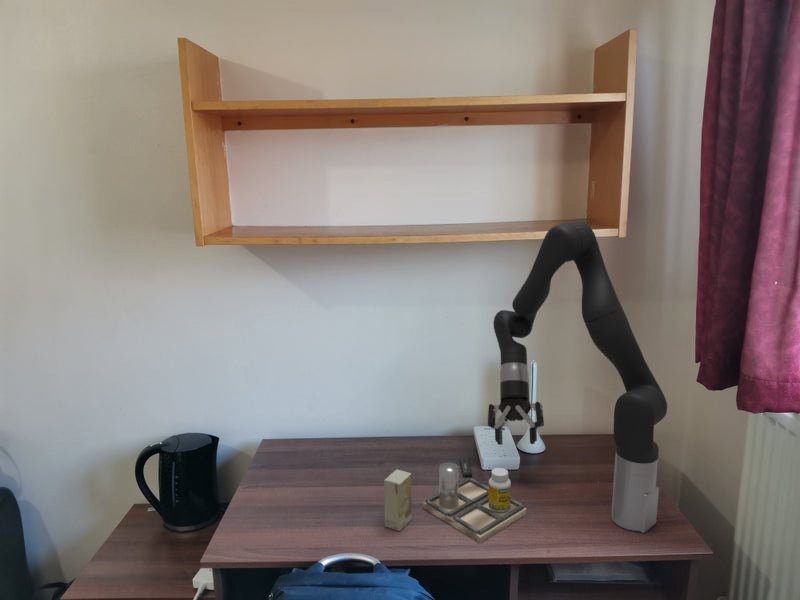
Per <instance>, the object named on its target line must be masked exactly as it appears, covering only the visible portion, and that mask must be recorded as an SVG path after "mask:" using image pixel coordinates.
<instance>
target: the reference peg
mask: <svg viewBox="0 0 800 600" xmlns="http://www.w3.org/2000/svg"><path fill="white" fill-rule="evenodd" d="M438 467H439V468H438V470H439V471H438V473H439V474H438V476H439V477H438V479H439V482H438V489H439V490H438V493H439V504H440V506H441V507H442V508H445V509H454V508H456V507H458V505H459V482H460V466H459V464H457V463H455V462H443V463H441V464H440V465H439V466H438Z"/></svg>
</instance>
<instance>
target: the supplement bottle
mask: <svg viewBox="0 0 800 600" xmlns="http://www.w3.org/2000/svg"><path fill="white" fill-rule="evenodd" d="M488 487H489V508H490V509H491V510H493V511H495V512H506V511H508V510H509V509H510V498H512V497H511V495H512V493H511V491H512V484H511V480H510V478H509V471H508V470H507V469H505V468H502V467H495V468H493V469H491V477H490V478H489V479H488Z"/></svg>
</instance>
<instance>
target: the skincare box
mask: <svg viewBox="0 0 800 600" xmlns="http://www.w3.org/2000/svg"><path fill="white" fill-rule="evenodd" d="M383 482H384V484H383V487H384V488H383V489H384V493H383V494H384V527H386V528H388V529H392V530H395V531H397V532H398V531H399V532H401V531H402V529H403V528H404V527H406V526H407V524H409V522H410V521H411V520H412V518H413V517H412V516H413V514H412V506H413V505H412V494H413V493H412V473H411V472H407V471H404V470H401V469H398V468H397V469H395V470H394V471H393V472H391V473H390V474H389V475H388V476H387V477H386V478H385V479H384V480H383Z"/></svg>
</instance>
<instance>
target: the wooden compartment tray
mask: <svg viewBox="0 0 800 600" xmlns="http://www.w3.org/2000/svg"><path fill="white" fill-rule="evenodd" d="M422 509H424V510H425V511H427V512H429V513H430V514H432V515H433V516H436V518H439V519H440V520H441V521H444V523H447V524H448V525H450V526H451V527H453V528H455V529H457V530H458V531H460V532H461V533H463V534H465V535H466V536H468V537H469V538H471V539H473V540H474V541H476V542H478V543H479V544H481V543H483V542H484V541H486V540H488V539H489V538H490V537H492V536H494V535H495V534H497V533H498V532H500V531H502V530H504V529H505V528H506V527H508V526H509V525H511V524H513V523H514V522H516V521H518V520H519V519H521V518H522V517H524V516H526V515H527V508H526V507H525V506H524V505H523V503H521V502H519V501H517V500H515V499H513V498H512V497H510V509H509V510H508V511H506V512H495V511H493V510H491V509H490V508H489V485H488V486H487V485H486V484H484V483H482V482H480V481H478V480H476V479H474V478H465V479H464V480H462V481H459V505H458V507H456V508H454V509H445V508H442V507H441V506H440V504H439V492H438V493H436V494H434V495H432V496H430V497H428V498H426V499H425V501H423V502H422Z"/></svg>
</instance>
